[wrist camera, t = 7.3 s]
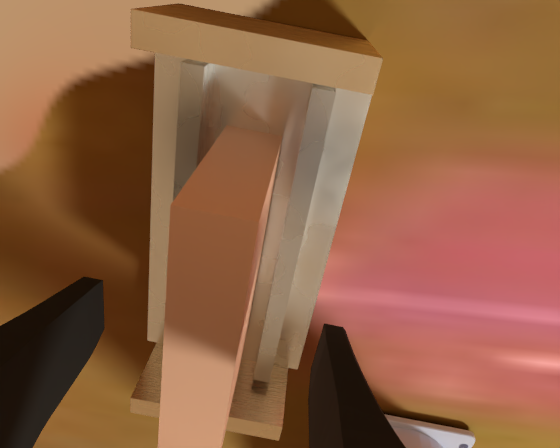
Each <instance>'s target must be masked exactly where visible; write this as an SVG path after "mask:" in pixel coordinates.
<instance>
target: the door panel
mask: <svg viewBox="0 0 560 448" xmlns="http://www.w3.org/2000/svg"><path fill="white" fill-rule="evenodd" d="M282 137H283V136H279V135H274V134H269V133H264V132H259V131H254V130H248V129H243V128H238V127H233V126H228V125H227V126H226V127H225V128H224V130H223V131H222V133H221V134H220V135H219V137H218V138H217V140H216V141H215V143H214V144H213V145H212V147H211V148H210V150H209V151H208V152H207V154H206V155H205V157H204V158H203V160H202V161H201V162H200V164H199V165H198V167H197V168H196V170H195V171H194V172H193V174H192V175H191V177H190V178H189V179H188V181H187V182H186V184H185V185H184V187H183V188H182V189H181V191H180V192H179V194H178V195H177V196H176V198H175V199H174V201H173V202H172V204H171V205H170V224H169V243H168V262H167V282H166V301H165V320H164V340H163V359H162V378H161V398H160V417H159V436H158V448H222V444H223V439H224V435H225V430H226V426H227V421H228V417H229V412H230V408H231V403H232V399H233V394H234V390H235V385H236V381H237V376H238V372H239V367H240V363H241V358H242V354H243V349H244V345H245V340H246V336H247V331H248V327H249V321H250V315H251V310H252V304H253V299H254V293H255V288H256V282H257V276H258V271H259V265H260V260H261V254H262V249H263V243H264V237H265V232H266V226H267V221H268V215H269V210H270V204H271V198H272V193H273V187H274V182H275V176H276V171H277V165H278V159H279V154H280V148H281V143H282Z"/></svg>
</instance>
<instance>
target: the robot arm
mask: <svg viewBox="0 0 560 448" xmlns="http://www.w3.org/2000/svg"><path fill="white" fill-rule="evenodd" d="M103 330H104V301H103V280H98V279H93V278H88V277H83V278H81V279H79V280H78V281H76V282H74V283H73V284H71V285H70V286H68V287H66V288H65V289H63V290H61V291H60V292H58V293H57V294H55V295H53V296H52V297H50V298H48V299H47V300H45V301H44V302H42V303H40V304H39V305H37V306H35V307H33V308H32V309H30V310H28V311H27V312H25V313H23V314H21V315H20V316H18V317H16V318H14V319H12V320H10V321H9V322H7V323H5V324H3V325H1V326H0V448H33V446H34V444H35V442H36V440H37V438H38V437H39V435H40V433H41V431H42V429H43V428H44V426H45V425H46V423H47V421H48V420H49V418H50V417H51V415H52V414H53V412H54V411H55V409H56V408H57V406H58V405H59V403H60V402H61V400H62V399H63V397H64V396H65V394H66V393H67V391H68V390H69V388H70V387H71V385H72V384H73V382H74V381H75V379H76V378H77V376H78V375H79V373H80V372H81V370H82V369H83V367H84V366H85V364H86V363H87V361H88V360H89V358H90V356H91V355H92V353H93V351H94V349H95V347H96V345H97V343H98V341H99V339H100V337H101V334H102V332H103ZM308 404H309V446H310V448H472V446H473V444H474V443H475V437H474V434H473V433H472V432H471V431H468V430H464V429H459V428H453V427H448V426H443V425H438V424H433V423H427V422H422V421H417V420H412V419H407V418H401V417H396V416H391V415H386V414H384V413H383V411H382V410H381V408H380V406H379V404H378V403H377V401H376V399H375V397H374V395H373V393H372V391H371V390H370V388H369V386H368V384H367V381H366V379H365V377H364V375H363V373H362V371H361V369H360V367H359V364H358V362H357V360H356V357H355V355H354V353H353V350H352V348H351V345H350V342H349V340H348V337H347V334H346V331H345V330H344V328H343V327H339V326H334V325H329V324H324V326H323V329H322V333H321V336H320V340H319V343H318V347H317V350H316V353H315V357H314V360H313V364H312V367H311V375H310V386H309V398H308Z"/></svg>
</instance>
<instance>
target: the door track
mask: <svg viewBox="0 0 560 448" xmlns="http://www.w3.org/2000/svg"><path fill="white" fill-rule="evenodd" d="M131 48H134V49H140V50H145V51H150V52H155V71H154V108H153V146H152V183H151V220H150V258H149V295H148V332H147V341H152V342H157V343H156V345H155V347H154V349H153V351H152V353H151V356H150V358H149V360H148V362H147V364H146V366H145V368H144V370H143V373H142V375H141V377H140V379H139V381H138V383H137V385H136V387H135V390H134V392H133V394H132V396H131V411H130V412H131V413H137V414H142V415H147V416H152V417H158V418H159V417H160V398H161V378H162V359H163V340H164V320H165V301H166V282H167V262H168V243H169V224H170V205H171V204H172V202H173V201H174V199H175V198H176V196H177V195H178V194H179V192H180V191H181V189H182V188H183V187H184V185H185V184H186V182H187V181H188V179H189V178H190V177H191V175H192V174H193V172H194V171H195V170H196V168H197V167H198V165H199V164H200V162H201V161H202V160H203V158H204V157H205V155H206V154H207V152H208V151H209V150H210V148H211V147H212V145H213V144H214V143H215V141H216V140H217V138H218V137H219V135H220V134H221V133H222V131H223V130H224V128H225V127H226V126H227V125H228V126H233V127H238V128H243V129H248V130H254V131H259V132H264V133H269V134H274V135H279V136H283V137H282V143H281V148H280V154H279V159H278V165H277V171H276V176H275V182H274V187H273V193H272V198H271V204H270V210H269V215H268V221H267V226H266V232H265V237H264V243H263V249H262V254H261V260H260V265H259V271H258V276H257V282H256V288H255V293H254V299H253V304H252V310H251V315H250V321H249V327H248V331H247V336H246V340H245V345H244V349H243V354H242V358H241V363H240V367H239V372H238V376H237V381H236V385H235V390H234V394H233V399H232V403H231V408H230V412H229V417H228V421H227V426H226V430H225V431H231V432H236V433H241V434H246V435H251V436H257V437H262V438H267V439H272V440H277V441H279V438H280V435H281V431H282V427H283V417H284V406H285V396H286V385H287V375H288V368H292V369H297V370H298V366H299V362H300V359H301V355H302V351H303V348H304V344H305V340H306V337H307V333H308V329H309V325H310V322H311V318H312V314H313V311H314V307H315V303H316V300H317V296H318V292H319V289H320V285H321V281H322V278H323V274H324V270H325V266H326V263H327V259H328V255H329V252H330V248H331V244H332V241H333V237H334V233H335V230H336V226H337V222H338V219H339V215H340V211H341V208H342V204H343V200H344V196H345V193H346V189H347V185H348V182H349V178H350V174H351V171H352V167H353V163H354V160H355V156H356V152H357V149H358V145H359V141H360V137H361V134H362V130H363V126H364V123H365V119H366V115H367V112H368V108H369V104H370V101H371V97H372V95H373V93H374V90H375V86H376V82H377V79H378V75H379V71H380V68H381V64H382V60H383V58H382V57H381V55H380V54H379V53H378V52H377V51H376V49H375V48H374V47H373V46H372V45H371V43H370V42H369V41H368V40H362V39H357V38H352V37H347V36H342V35H337V34H332V33H327V32H322V31H317V30H311V29H306V28H301V27H296V26H291V25H286V24H281V23H276V22H271V21H266V20H261V19H255V18H250V17H245V16H240V15H235V14H229V13H225V12H220V11H215V10H210V9H204V8H199V7H194V6H189V5H184V4H171V5H162V6H153V7H144V8H137V9H131Z"/></svg>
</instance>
